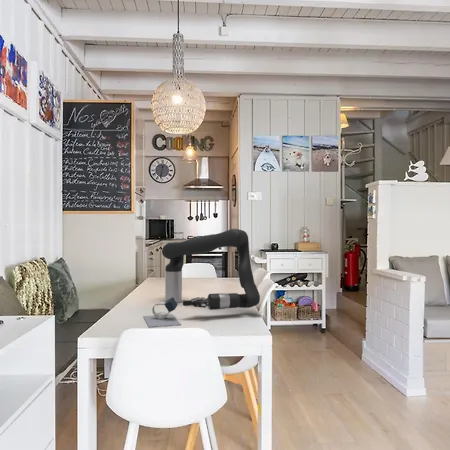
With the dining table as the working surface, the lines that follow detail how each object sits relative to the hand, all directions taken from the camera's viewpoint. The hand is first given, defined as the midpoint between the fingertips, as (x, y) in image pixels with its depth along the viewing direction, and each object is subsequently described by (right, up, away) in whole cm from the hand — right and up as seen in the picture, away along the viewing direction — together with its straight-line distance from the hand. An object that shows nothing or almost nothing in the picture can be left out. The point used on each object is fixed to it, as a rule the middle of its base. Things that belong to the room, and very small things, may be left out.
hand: (182, 303), depth 190 cm
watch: (-4, 0, -2) cm, 4 cm away
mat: (-10, -7, -3) cm, 12 cm away
